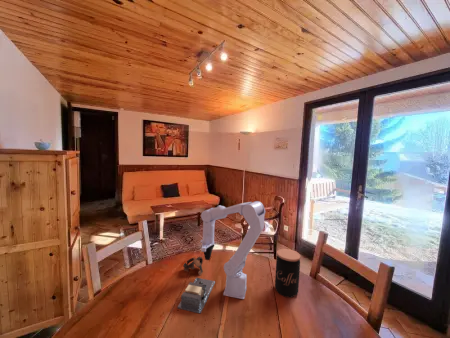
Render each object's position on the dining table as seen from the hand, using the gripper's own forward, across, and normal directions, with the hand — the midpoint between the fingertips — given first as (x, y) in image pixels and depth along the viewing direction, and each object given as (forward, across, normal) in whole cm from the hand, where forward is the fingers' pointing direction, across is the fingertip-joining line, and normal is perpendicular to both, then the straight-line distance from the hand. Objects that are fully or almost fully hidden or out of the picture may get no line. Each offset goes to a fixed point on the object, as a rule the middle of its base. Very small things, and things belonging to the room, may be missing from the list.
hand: (207, 259), depth 100 cm
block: (+9, +17, 0) cm, 19 cm away
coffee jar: (+10, -2, +39) cm, 40 cm away
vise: (+10, +12, 0) cm, 16 cm away
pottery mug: (+10, -4, -8) cm, 14 cm away
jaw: (+9, +12, 0) cm, 15 cm away
